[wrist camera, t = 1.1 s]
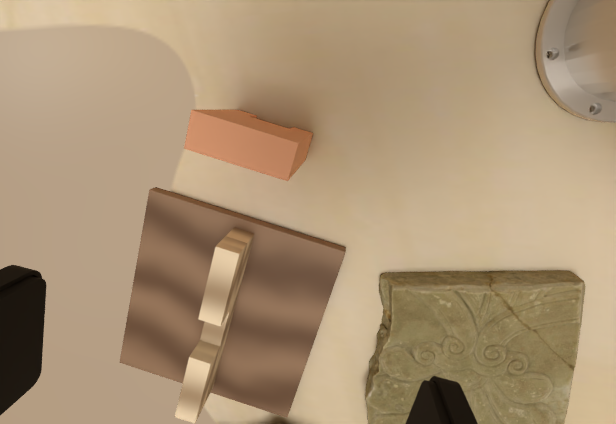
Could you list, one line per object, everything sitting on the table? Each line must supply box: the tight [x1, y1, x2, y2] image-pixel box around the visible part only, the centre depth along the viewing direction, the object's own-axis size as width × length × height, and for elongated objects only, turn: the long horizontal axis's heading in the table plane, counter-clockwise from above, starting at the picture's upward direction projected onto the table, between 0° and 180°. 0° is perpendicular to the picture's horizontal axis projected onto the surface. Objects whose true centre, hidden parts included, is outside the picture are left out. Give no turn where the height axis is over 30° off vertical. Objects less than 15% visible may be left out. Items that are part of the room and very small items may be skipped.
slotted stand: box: [120, 187, 346, 423], centre depth 35 cm, size 20×19×6 cm
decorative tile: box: [365, 270, 585, 424], centre depth 36 cm, size 19×20×4 cm
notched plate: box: [184, 110, 313, 181], centre depth 28 cm, size 2×7×10 cm, turn 74°
